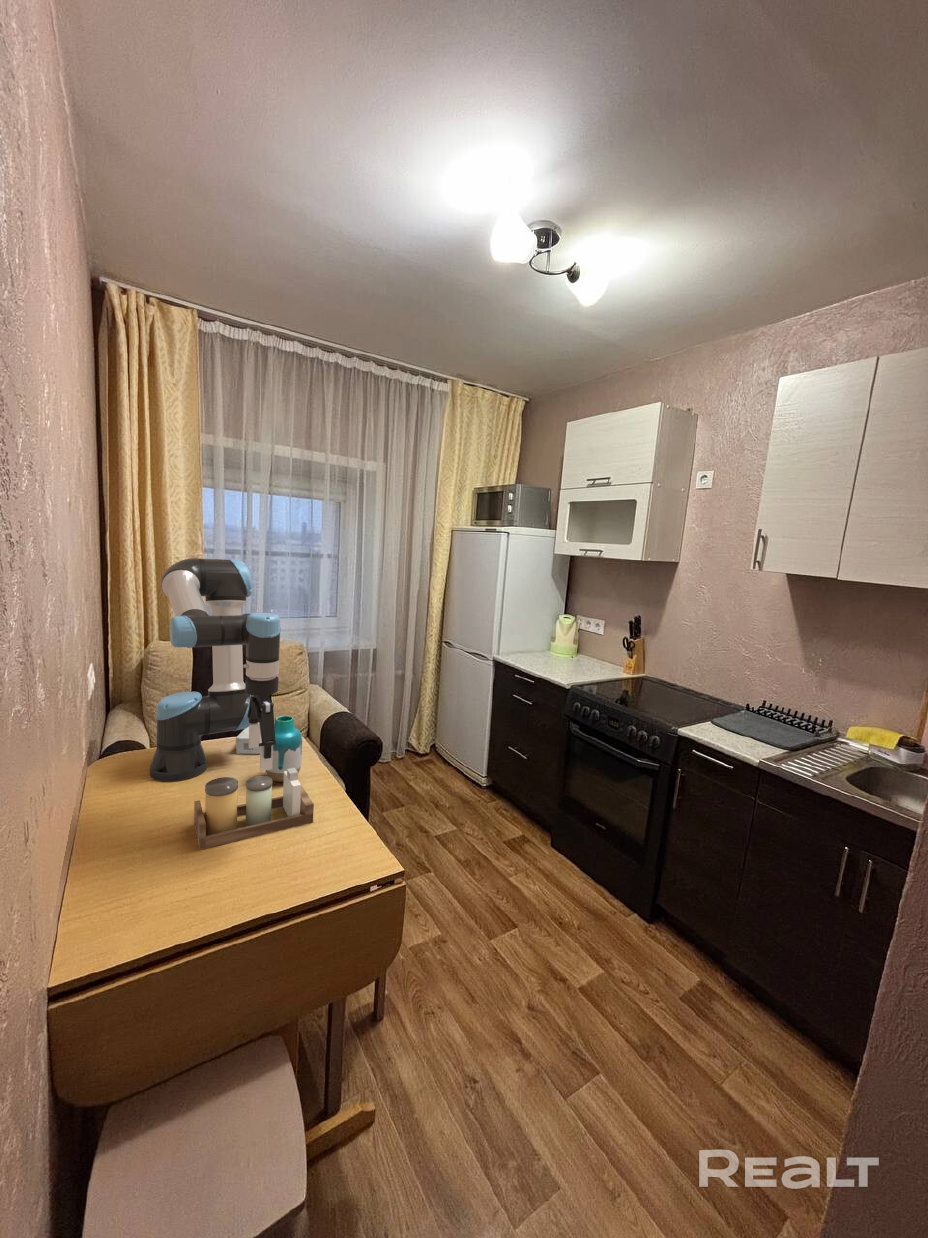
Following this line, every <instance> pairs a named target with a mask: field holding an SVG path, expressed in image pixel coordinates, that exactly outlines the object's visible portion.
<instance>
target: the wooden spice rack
mask: <svg viewBox="0 0 928 1238" xmlns="http://www.w3.org/2000/svg"><path fill="white" fill-rule="evenodd" d="M193 806H194V813H193V815H194V816H193V817H194V818H193V819H194V821H193V822H194V824H193V825H194V829H195V833H196V838H197V842H198V843H197V844H198V847H199V848H198V849H199V850H204V849H209V848H213V847H218V846H221V845H225V844H230V843H233V842H238V841H242V840H246V839H250V838H254V837H258V836H261V835H262V836H263V835H266V834H270V833H274V832H278V831H282V830H287V829H291V828H294V827H299V826H303V825H307V824H312V823H314V807H315V805H314V802H313V801H312V799H311V798H310V795H308V793H307V792H306V790H305V789H304V787H303V786H302V784H301V802H300V814H298V815H294V816H290V817H288V816H286V817H282V818H278V819H277V818H276V819H272V820H271V821H268V822H264V823H260V824H255V825H251V826H243V827H237V829H234V830H229V831H225V832H221V833H217V834H212V835H208V836H206V823H205V811H204V810H203V807H202V804H201V800H200V799H199V800H194V804H193ZM281 807H283V795H281V796H277V797H272V804H271V810H274V809H277V808H278V809H279V808H281ZM283 808H284V807H283ZM203 811H204V812H203ZM240 816H246V803H243V804H237V817H240Z"/></svg>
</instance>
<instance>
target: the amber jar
mask: <svg viewBox="0 0 928 1238" xmlns="http://www.w3.org/2000/svg"><path fill="white" fill-rule="evenodd" d="M238 789H239V780H238V779H236V778H234V777H230V776H227V777H226V776H223V777H216V778H214V779H211V780H210V781H209V780H208V782H206V783H205V786H204V793H205V799H204V800H205V806H204V807H205V809H204V810H205V811H204V812H205V823H206V836H208V835H212V834H217V833H221V832H225V831H229V830H234V829H238V816H237V805H238V799H239V798H238V791H239V790H238Z"/></svg>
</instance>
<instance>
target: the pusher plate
mask: <svg viewBox="0 0 928 1238" xmlns="http://www.w3.org/2000/svg"><path fill="white" fill-rule="evenodd" d="M282 784H283V786H282V790H283V791H282V796H283V810H284V811H285V813H286V815H287V817H290V816H294V815H298V814H300V802H301V785H302V784H301V782H300V781H299V773H298V772H297V770H296V769H295V768H290V769H287V771H284V782H282Z"/></svg>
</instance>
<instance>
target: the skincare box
mask: <svg viewBox="0 0 928 1238" xmlns="http://www.w3.org/2000/svg"><path fill="white" fill-rule="evenodd" d="M260 743H262V740H261V737H260ZM235 747H236V748H235V749H236V750H235V752H236V754H237V755H238V754H244V755H245V754H247V755H248V754H249V755H250V754H251V755H252V754H255V755H260V747H257V748H250V749H249V727H248V728H245V729H242V731H241V732H240V733H239V734H238V735H237V736H236V737H235Z"/></svg>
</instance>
